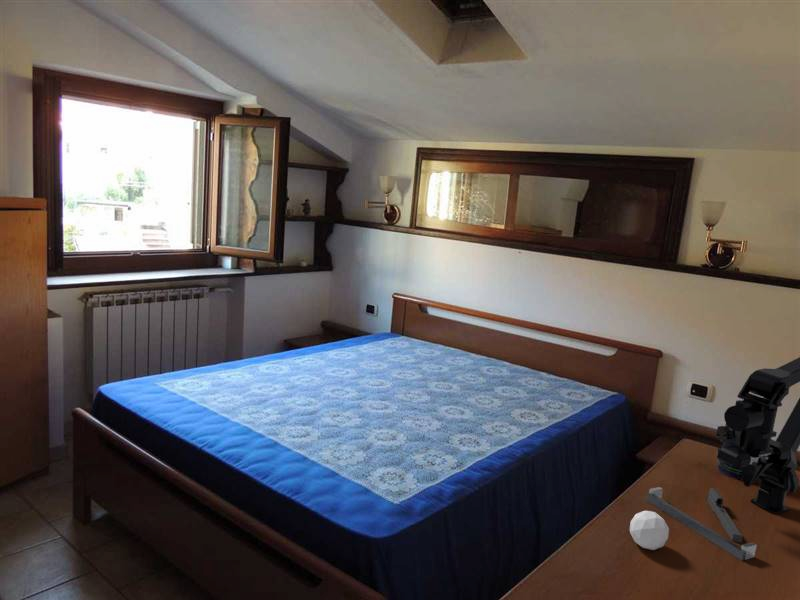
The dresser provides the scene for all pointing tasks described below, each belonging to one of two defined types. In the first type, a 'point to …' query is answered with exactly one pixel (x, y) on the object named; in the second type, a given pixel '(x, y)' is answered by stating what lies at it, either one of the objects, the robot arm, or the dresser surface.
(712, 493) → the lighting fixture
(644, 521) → the geometric ball
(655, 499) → the end cap rail
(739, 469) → the storage jar
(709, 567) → the dresser surface
